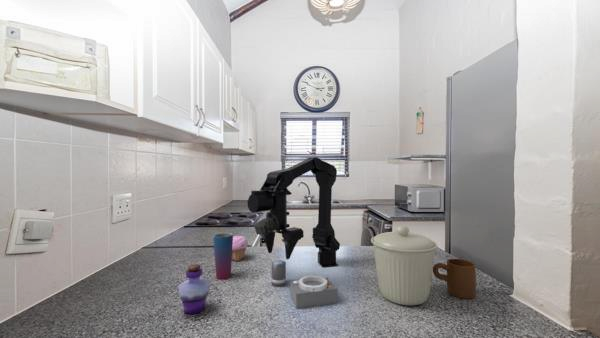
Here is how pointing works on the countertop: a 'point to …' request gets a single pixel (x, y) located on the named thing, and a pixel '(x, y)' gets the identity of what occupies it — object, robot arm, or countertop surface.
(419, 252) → the canister
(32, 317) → the countertop surface
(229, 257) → the cup
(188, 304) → the potion bottle
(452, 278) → the mug
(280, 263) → the lens
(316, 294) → the camera body
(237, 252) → the cupcake
